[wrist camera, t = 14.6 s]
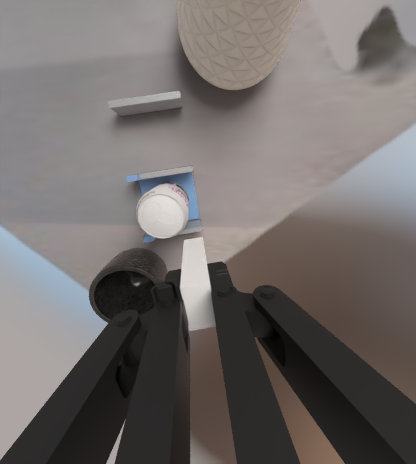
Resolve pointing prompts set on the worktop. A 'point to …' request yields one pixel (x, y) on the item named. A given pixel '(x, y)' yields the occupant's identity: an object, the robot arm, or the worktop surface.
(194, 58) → the vase
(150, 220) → the supplement can
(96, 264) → the worktop surface
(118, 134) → the worktop surface
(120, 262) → the planter
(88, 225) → the worktop surface
